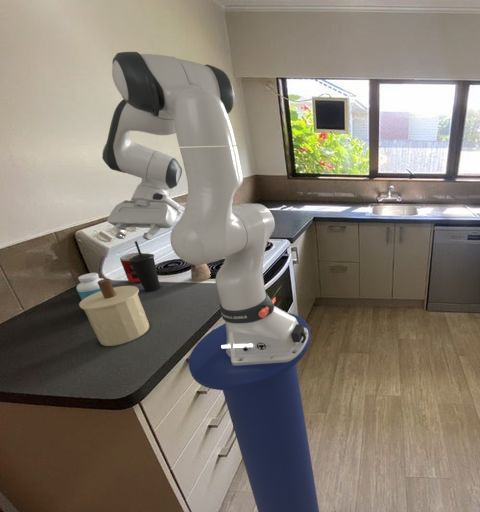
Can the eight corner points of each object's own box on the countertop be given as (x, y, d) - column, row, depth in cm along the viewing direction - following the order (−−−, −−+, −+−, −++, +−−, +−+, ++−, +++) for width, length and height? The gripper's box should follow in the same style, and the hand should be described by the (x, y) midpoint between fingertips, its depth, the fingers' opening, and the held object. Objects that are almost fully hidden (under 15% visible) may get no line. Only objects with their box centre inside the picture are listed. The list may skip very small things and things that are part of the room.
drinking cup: (139, 288, 114) (121, 241, 107) (162, 282, 119) (146, 236, 112) (142, 295, 109) (123, 246, 102) (166, 288, 114) (150, 241, 107)
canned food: (139, 275, 125) (130, 252, 121) (156, 275, 125) (148, 252, 121) (123, 283, 118) (114, 259, 114) (142, 284, 118) (133, 259, 114)
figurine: (196, 275, 126) (189, 249, 121) (213, 273, 127) (207, 248, 122) (189, 282, 119) (181, 255, 115) (207, 280, 120) (200, 254, 116)
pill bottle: (118, 310, 100) (103, 275, 95) (88, 319, 95) (71, 282, 90) (116, 302, 105) (102, 268, 100) (88, 310, 100) (72, 275, 95)
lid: (150, 290, 89) (144, 271, 86) (109, 313, 77) (100, 292, 74) (113, 288, 90) (105, 270, 87) (67, 310, 78) (57, 290, 76)
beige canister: (158, 323, 93) (146, 289, 88) (125, 347, 82) (109, 309, 77) (126, 321, 94) (112, 287, 89) (89, 344, 83) (70, 307, 78)
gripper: (112, 194, 92) (92, 233, 87) (170, 195, 90) (154, 234, 85) (129, 205, 98) (112, 242, 93) (185, 206, 96) (170, 243, 91)
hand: (132, 238), depth 89 cm, fingers open, 8 cm apart
